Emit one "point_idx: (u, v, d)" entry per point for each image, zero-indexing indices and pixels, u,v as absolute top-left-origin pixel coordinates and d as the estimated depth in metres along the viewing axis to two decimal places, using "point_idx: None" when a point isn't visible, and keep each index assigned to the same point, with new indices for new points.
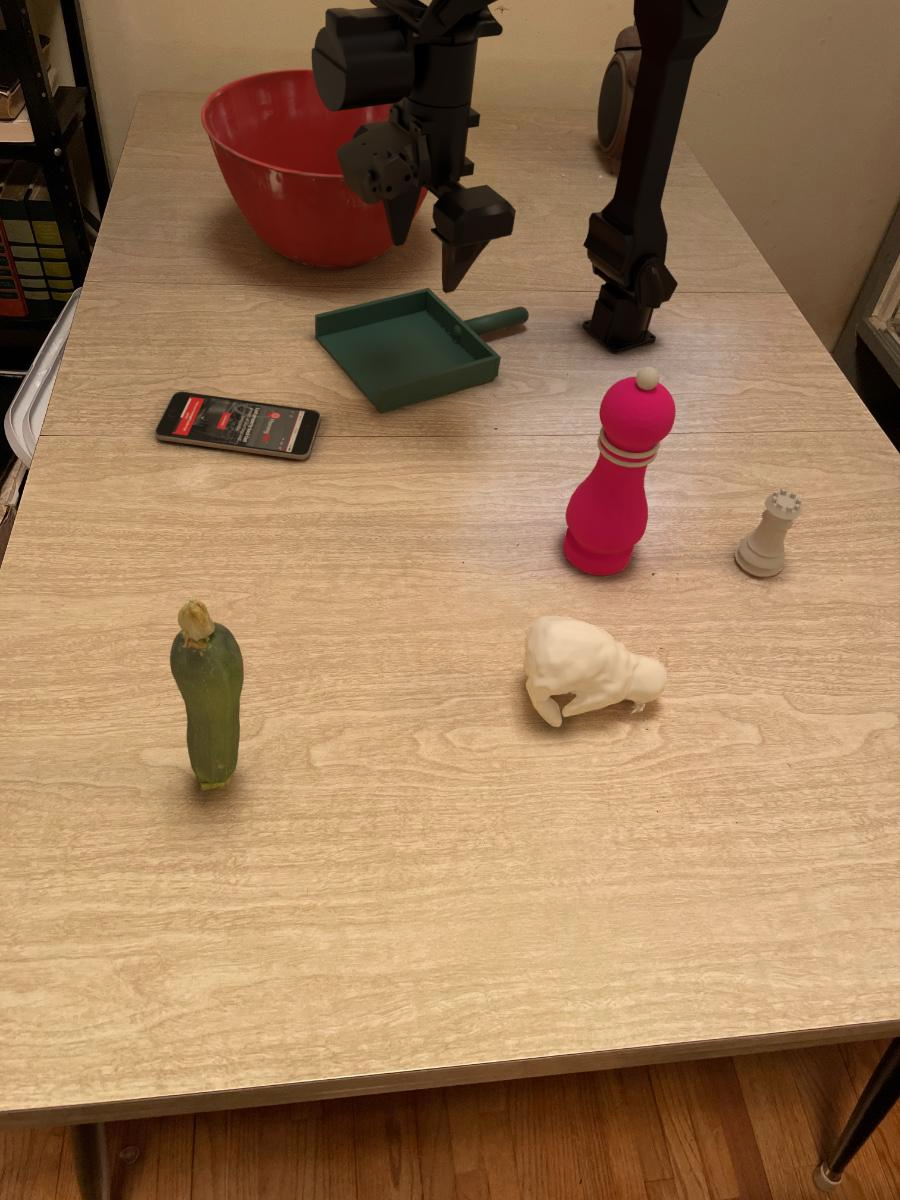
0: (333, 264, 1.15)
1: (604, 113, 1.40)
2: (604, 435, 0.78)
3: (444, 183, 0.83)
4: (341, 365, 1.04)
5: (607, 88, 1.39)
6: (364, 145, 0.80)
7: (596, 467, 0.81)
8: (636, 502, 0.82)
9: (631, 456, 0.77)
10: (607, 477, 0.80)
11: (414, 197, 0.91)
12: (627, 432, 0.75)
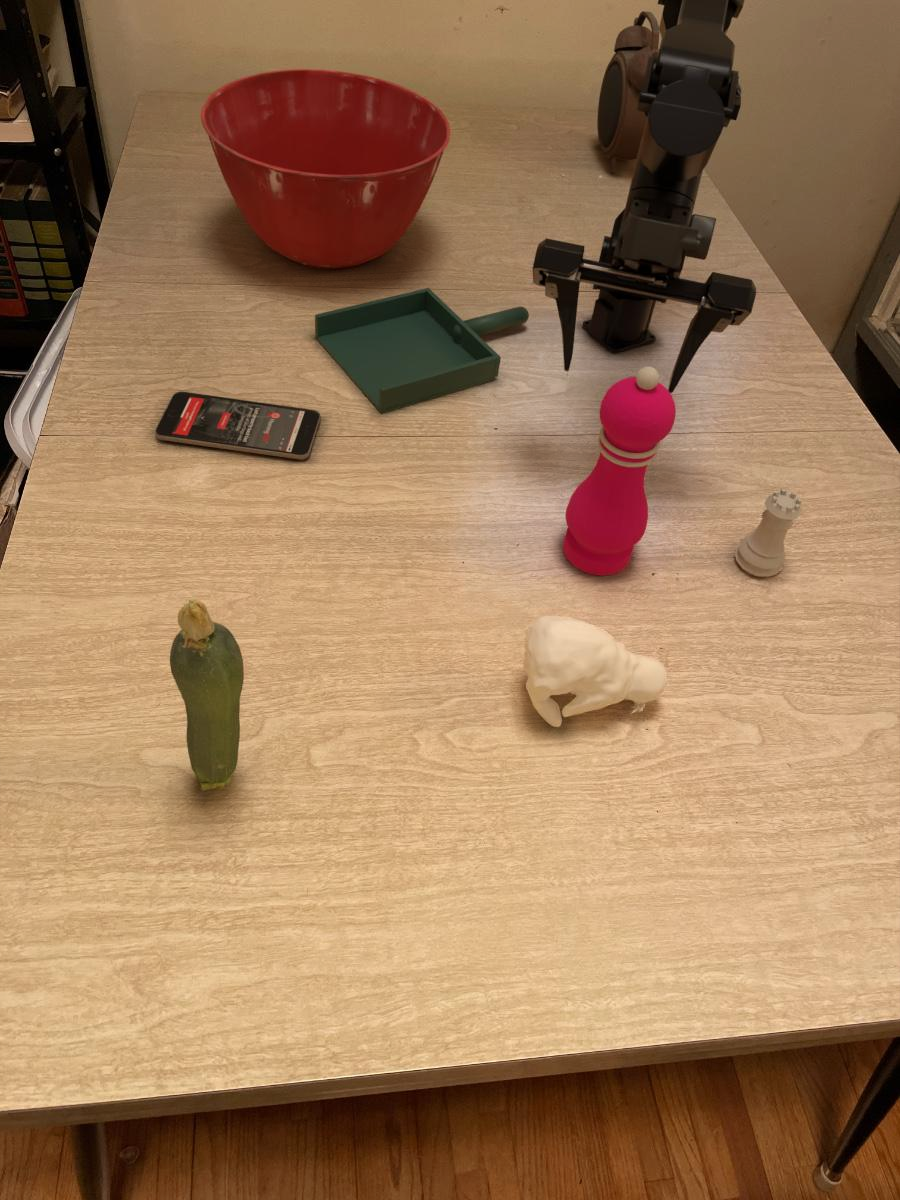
0: (333, 264, 1.15)
1: (604, 113, 1.40)
2: (604, 435, 0.78)
3: (678, 277, 0.82)
4: (341, 365, 1.04)
5: (607, 88, 1.39)
6: (649, 218, 0.77)
7: (596, 467, 0.81)
8: (636, 502, 0.82)
9: (631, 456, 0.77)
10: (607, 477, 0.80)
11: None
12: (627, 432, 0.75)
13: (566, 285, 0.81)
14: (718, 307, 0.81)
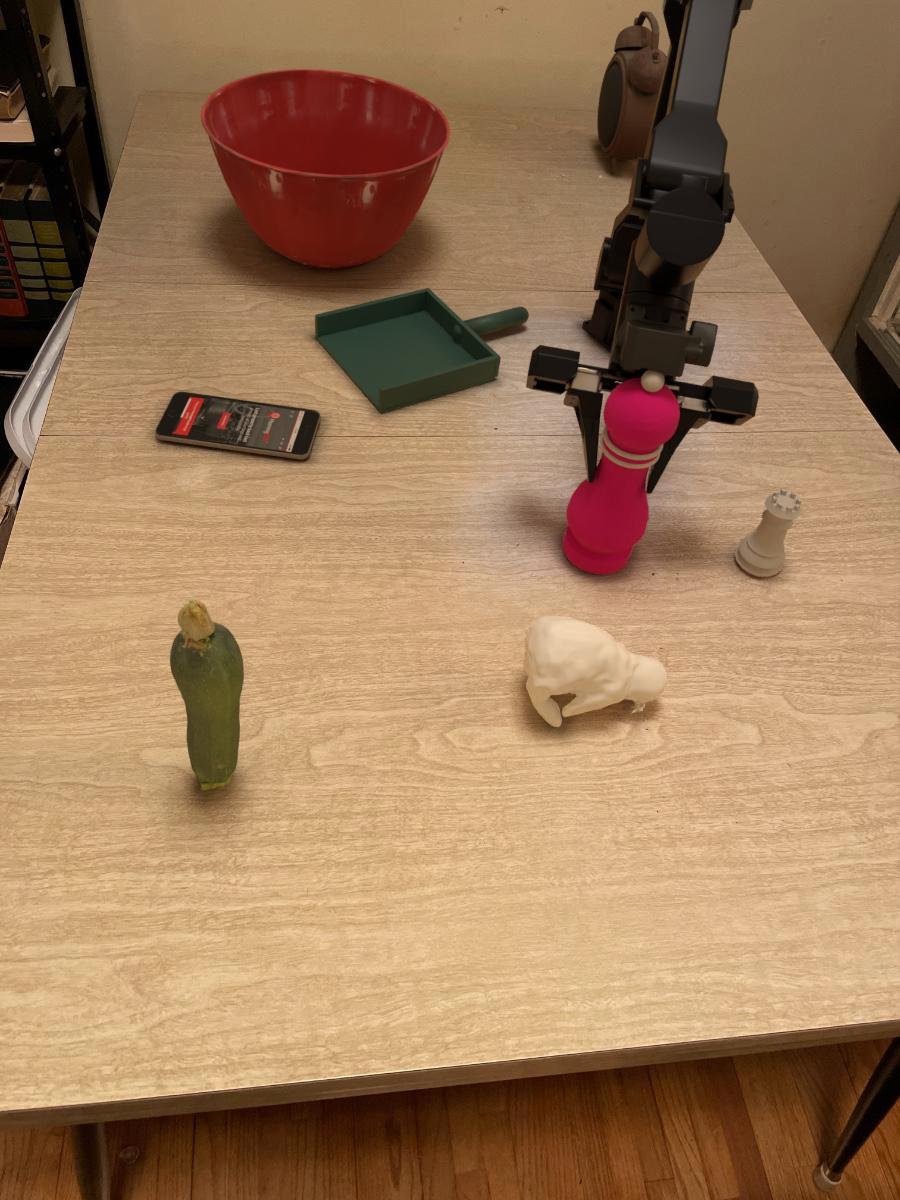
0: (333, 264, 1.15)
1: (604, 113, 1.40)
2: (607, 435, 0.78)
3: (676, 381, 0.80)
4: (341, 365, 1.04)
5: (607, 88, 1.39)
6: (648, 326, 0.74)
7: (598, 466, 0.81)
8: (637, 503, 0.82)
9: (633, 457, 0.77)
10: (608, 477, 0.80)
11: None
12: (630, 434, 0.75)
13: (589, 397, 0.78)
14: (694, 406, 0.79)
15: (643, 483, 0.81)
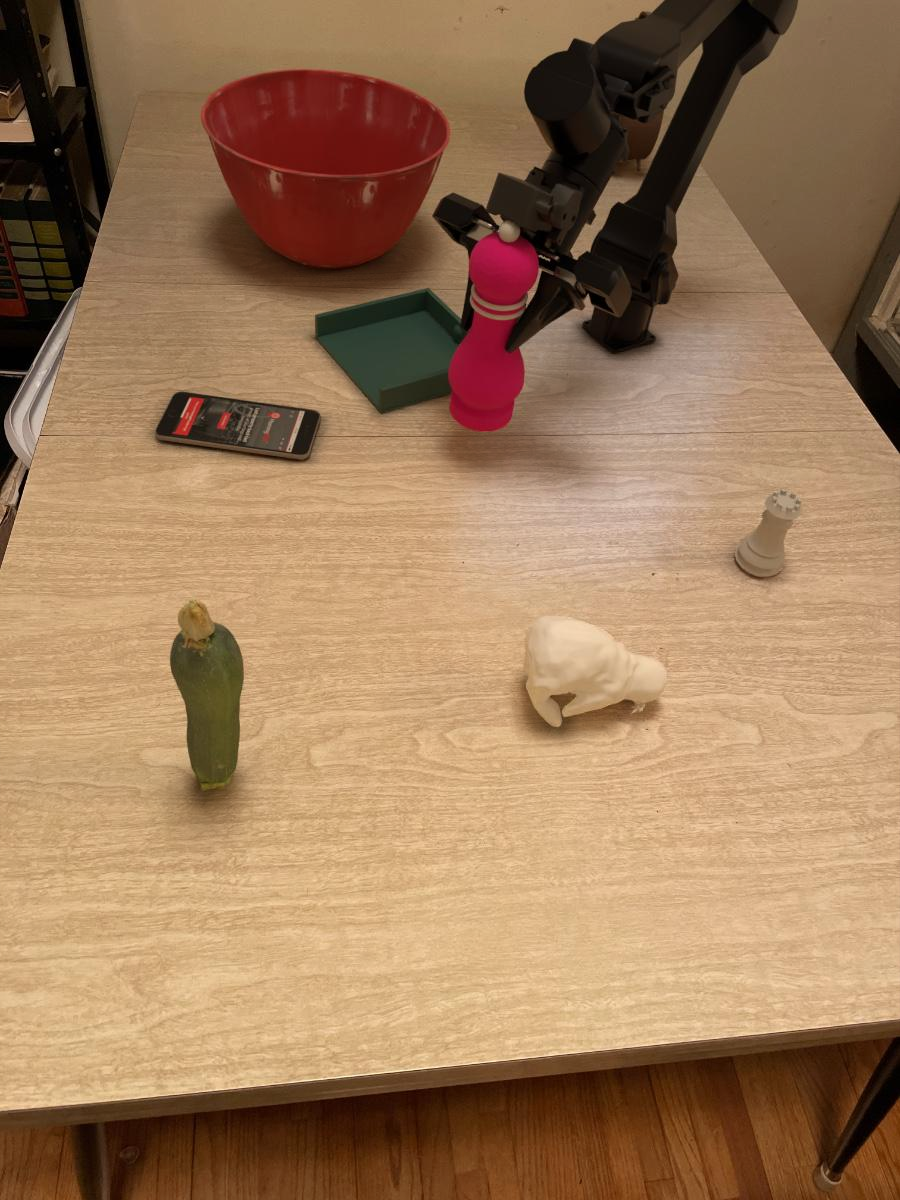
0: (333, 264, 1.15)
1: None
2: None
3: (563, 253, 0.84)
4: (341, 365, 1.04)
5: None
6: (523, 181, 0.79)
7: None
8: (497, 360, 0.87)
9: (484, 304, 0.83)
10: (473, 325, 0.86)
11: None
12: (476, 275, 0.81)
13: (474, 246, 0.85)
14: (565, 277, 0.83)
15: (505, 341, 0.86)
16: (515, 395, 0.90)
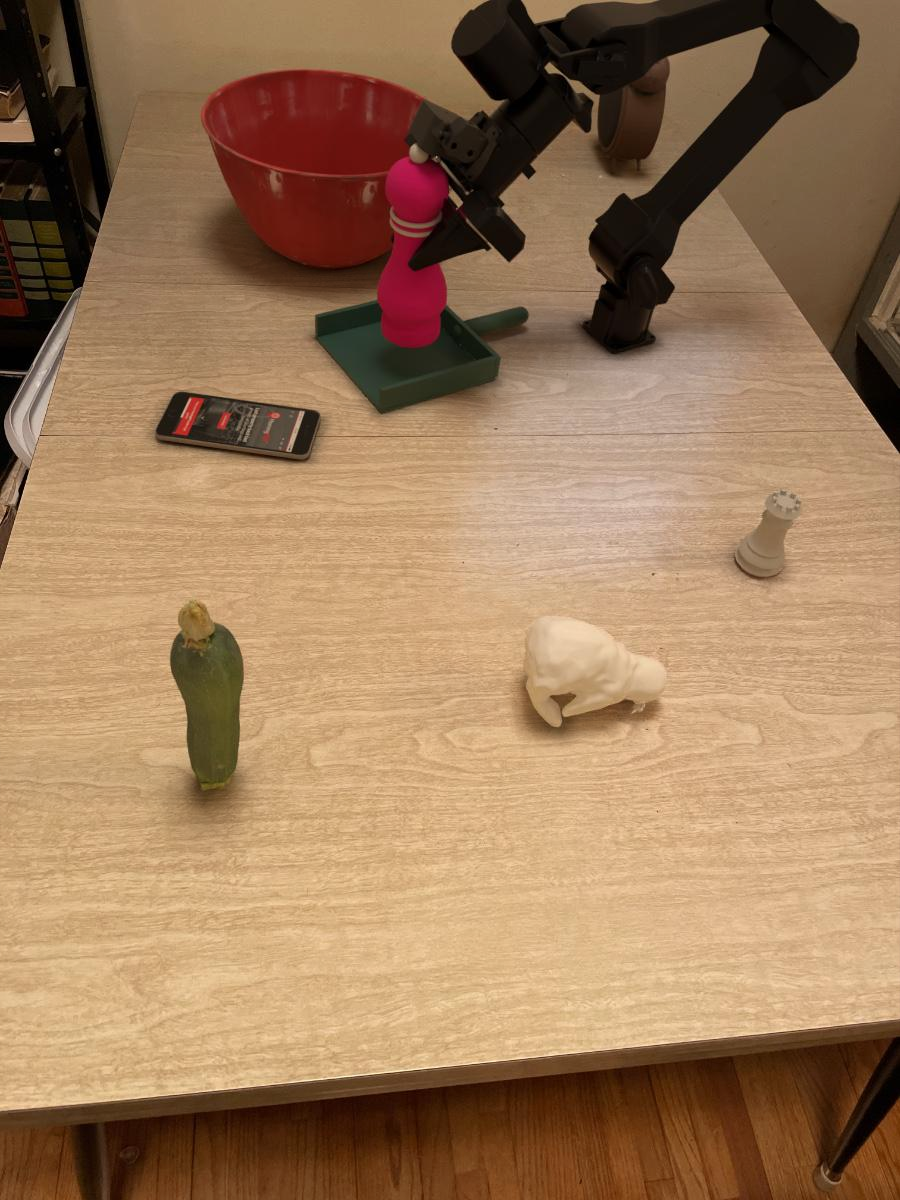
0: (333, 264, 1.15)
1: (604, 113, 1.40)
2: None
3: None
4: (341, 365, 1.04)
5: None
6: (446, 113, 0.87)
7: None
8: (404, 275, 0.95)
9: (392, 216, 0.92)
10: None
11: None
12: (385, 186, 0.90)
13: None
14: None
15: None
16: (422, 316, 0.97)
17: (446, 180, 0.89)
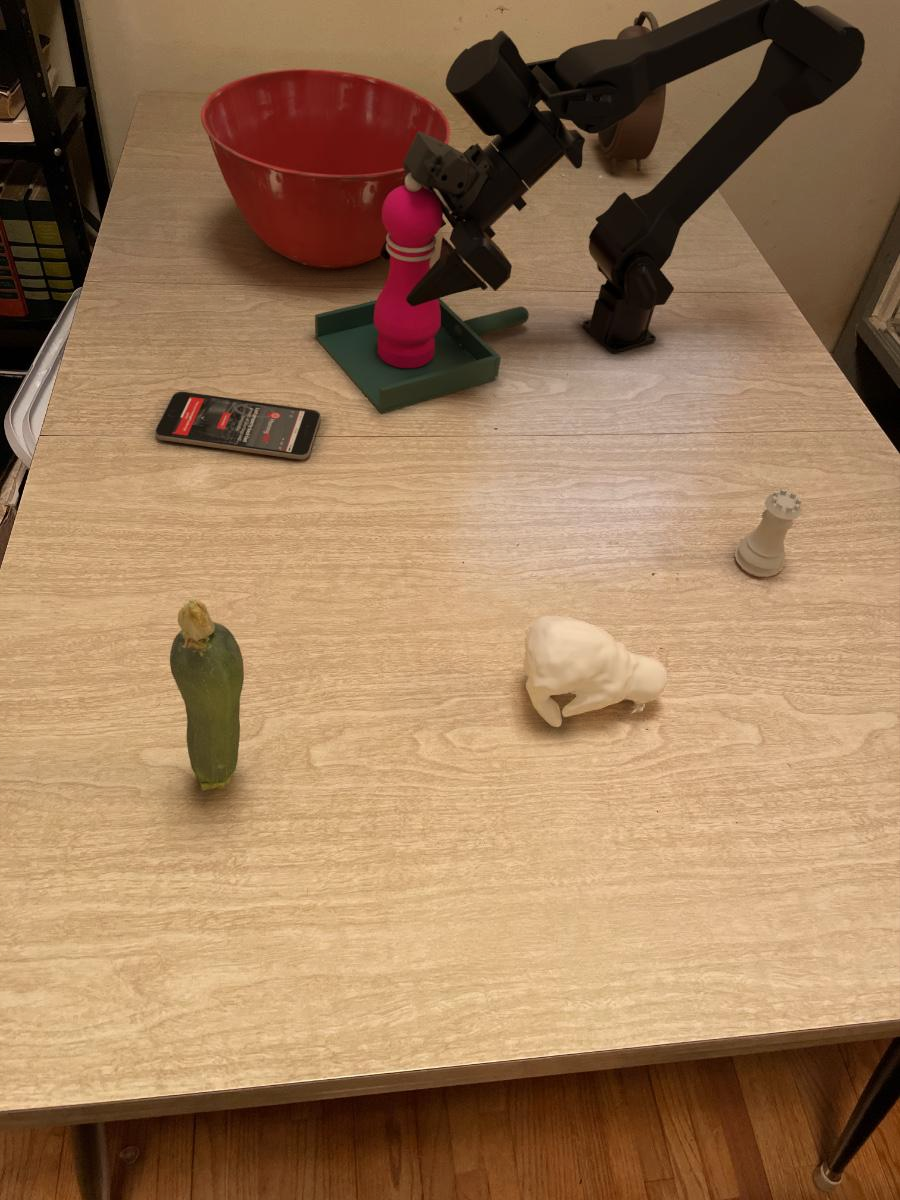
0: (333, 264, 1.15)
1: None
2: None
3: None
4: (341, 365, 1.04)
5: None
6: (440, 145, 0.91)
7: None
8: (399, 298, 0.99)
9: (387, 241, 0.96)
10: None
11: None
12: (382, 213, 0.94)
13: None
14: None
15: (407, 282, 0.98)
16: (415, 338, 1.01)
17: (439, 208, 0.94)
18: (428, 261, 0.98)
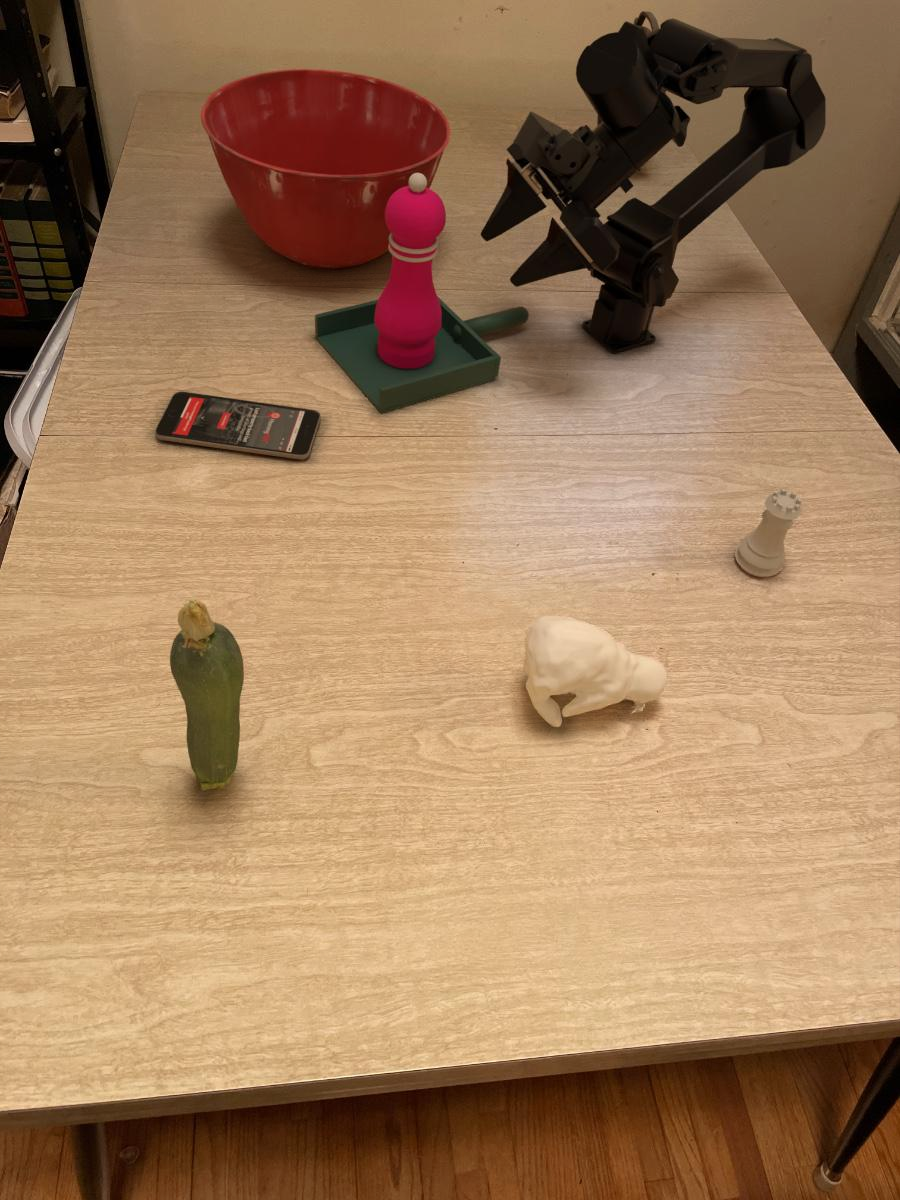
0: (333, 264, 1.15)
1: None
2: None
3: None
4: (341, 365, 1.04)
5: None
6: (552, 126, 0.91)
7: None
8: (400, 298, 0.99)
9: (390, 242, 0.96)
10: None
11: (522, 216, 1.02)
12: (385, 213, 0.94)
13: (510, 169, 0.99)
14: None
15: (408, 283, 0.98)
16: (416, 338, 1.01)
17: (443, 209, 0.94)
18: (430, 262, 0.98)
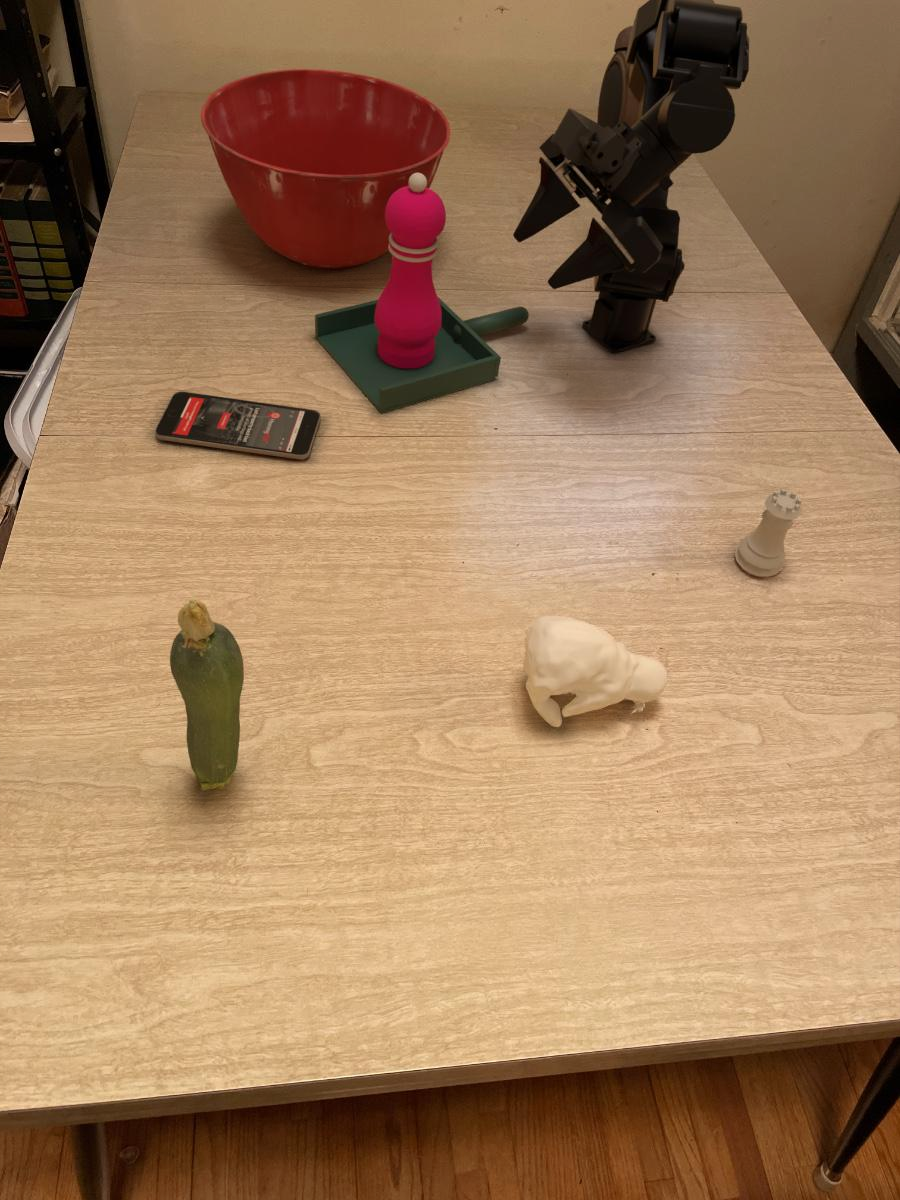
0: (333, 264, 1.15)
1: (604, 113, 1.40)
2: None
3: None
4: (341, 365, 1.04)
5: (607, 88, 1.39)
6: (591, 123, 0.88)
7: None
8: (400, 298, 0.99)
9: (390, 242, 0.96)
10: None
11: (555, 216, 0.99)
12: (385, 213, 0.94)
13: (544, 168, 0.96)
14: None
15: (408, 283, 0.98)
16: (416, 338, 1.01)
17: (443, 209, 0.94)
18: (430, 262, 0.98)
